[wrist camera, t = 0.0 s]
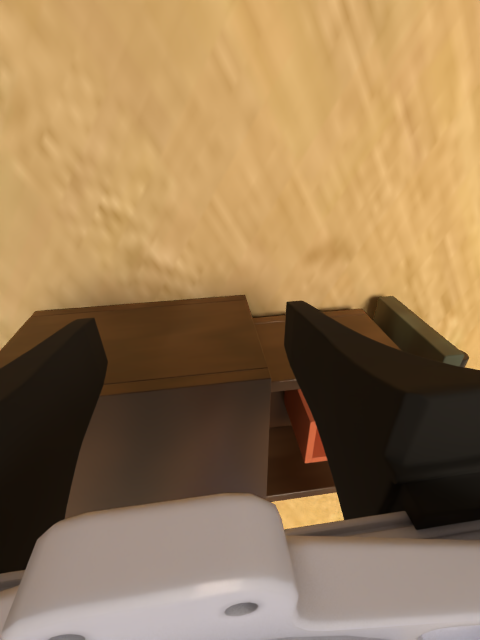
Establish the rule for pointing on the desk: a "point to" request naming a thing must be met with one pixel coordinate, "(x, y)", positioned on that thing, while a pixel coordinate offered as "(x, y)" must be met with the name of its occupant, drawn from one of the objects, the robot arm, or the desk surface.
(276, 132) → the desk surface
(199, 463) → the cabinet
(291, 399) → the scoop
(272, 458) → the drawer
